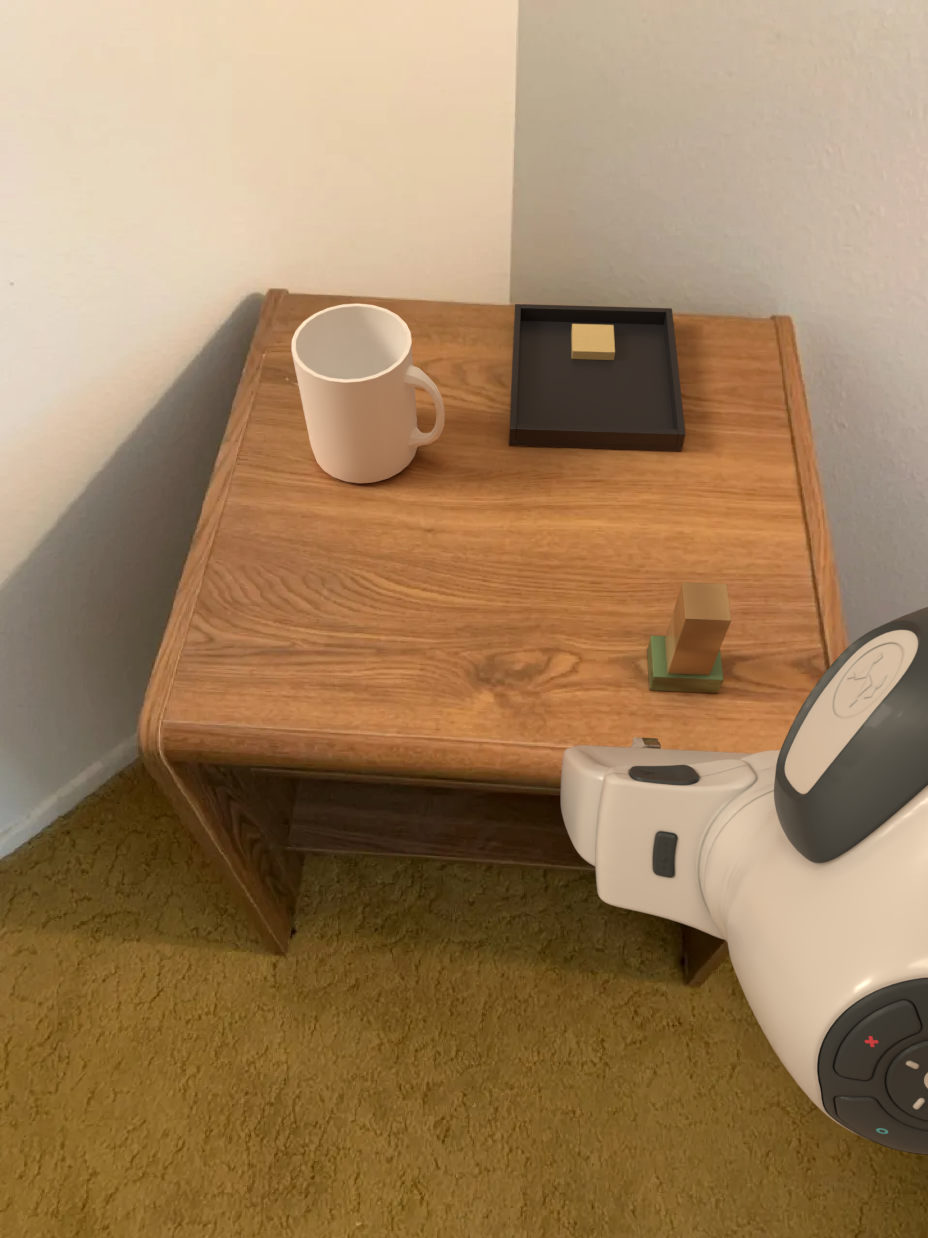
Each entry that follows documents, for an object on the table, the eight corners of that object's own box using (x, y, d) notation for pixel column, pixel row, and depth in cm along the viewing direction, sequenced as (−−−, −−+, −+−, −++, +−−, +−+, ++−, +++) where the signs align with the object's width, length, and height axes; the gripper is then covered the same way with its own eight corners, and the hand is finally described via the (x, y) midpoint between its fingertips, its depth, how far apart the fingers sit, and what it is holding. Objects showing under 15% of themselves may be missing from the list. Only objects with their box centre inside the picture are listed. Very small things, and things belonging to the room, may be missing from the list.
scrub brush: (713, 652, 70) (741, 580, 62) (717, 693, 68) (747, 624, 60) (646, 649, 70) (666, 577, 62) (649, 690, 68) (670, 621, 60)
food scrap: (612, 333, 90) (613, 324, 89) (613, 360, 87) (615, 352, 87) (571, 331, 90) (572, 323, 89) (571, 359, 88) (572, 350, 87)
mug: (320, 409, 85) (300, 302, 75) (450, 413, 84) (447, 305, 75) (305, 486, 80) (282, 380, 70) (444, 490, 79) (440, 384, 70)
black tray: (668, 325, 91) (672, 307, 89) (681, 451, 81) (685, 434, 80) (514, 321, 92) (514, 303, 90) (508, 445, 82) (509, 428, 80)
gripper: (1026, 798, 42) (900, 711, 55) (573, 775, 43) (559, 696, 56) (1006, 926, 43) (888, 810, 57) (566, 901, 44) (553, 793, 58)
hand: (721, 753), depth 57 cm, fingers open, 8 cm apart
